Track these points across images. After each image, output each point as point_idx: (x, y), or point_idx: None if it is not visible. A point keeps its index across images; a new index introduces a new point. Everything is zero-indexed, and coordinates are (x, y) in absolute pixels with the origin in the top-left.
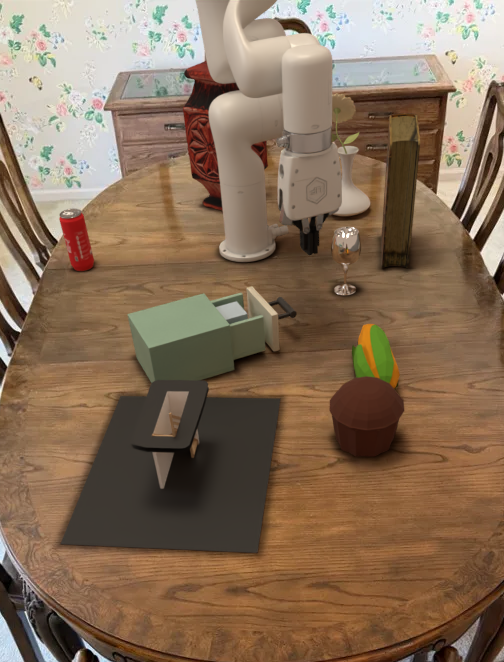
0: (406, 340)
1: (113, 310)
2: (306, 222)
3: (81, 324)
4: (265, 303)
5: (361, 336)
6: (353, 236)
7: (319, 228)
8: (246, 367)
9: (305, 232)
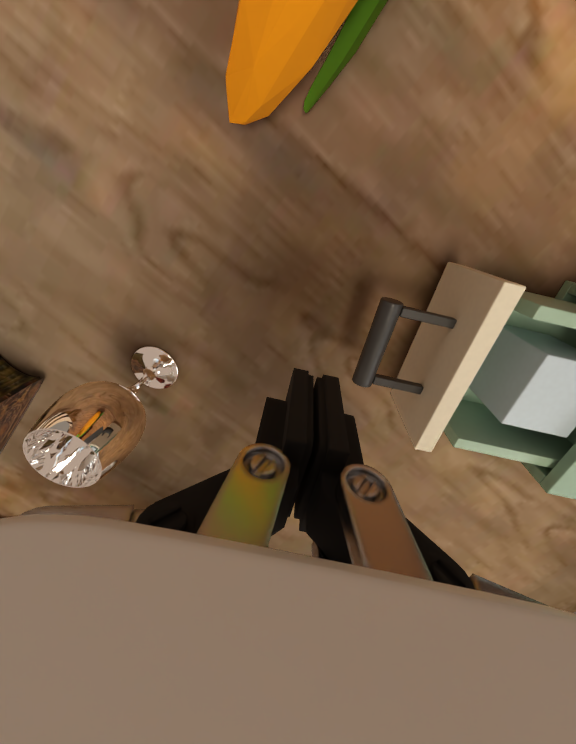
0: (146, 50)
1: (505, 560)
2: (377, 540)
3: (570, 562)
4: (472, 359)
5: (323, 14)
6: (54, 427)
7: (257, 455)
8: (538, 269)
9: (366, 476)
